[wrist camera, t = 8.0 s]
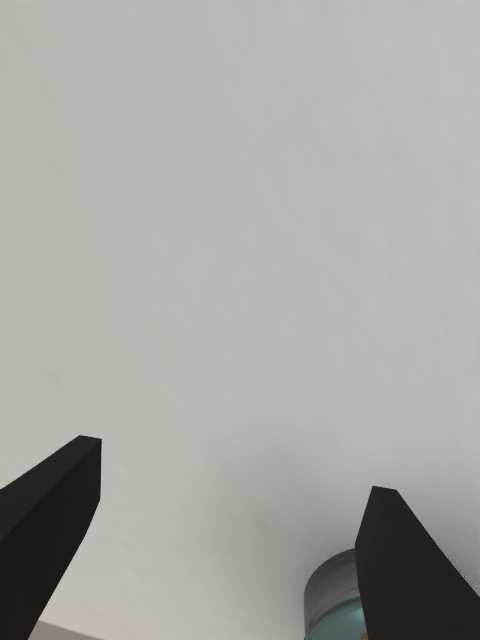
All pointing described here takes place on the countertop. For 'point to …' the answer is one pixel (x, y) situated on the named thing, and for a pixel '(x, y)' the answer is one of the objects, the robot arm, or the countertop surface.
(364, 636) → the walnut cube
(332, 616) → the grey tin
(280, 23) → the countertop surface
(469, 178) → the countertop surface
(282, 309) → the countertop surface
